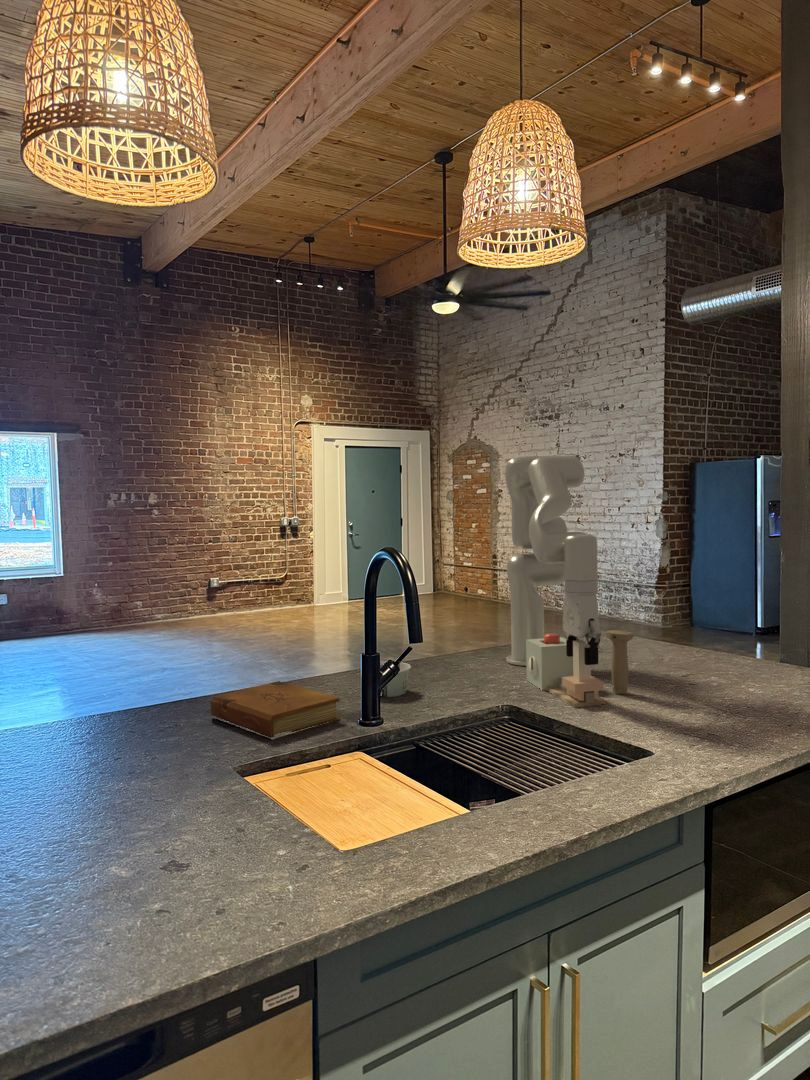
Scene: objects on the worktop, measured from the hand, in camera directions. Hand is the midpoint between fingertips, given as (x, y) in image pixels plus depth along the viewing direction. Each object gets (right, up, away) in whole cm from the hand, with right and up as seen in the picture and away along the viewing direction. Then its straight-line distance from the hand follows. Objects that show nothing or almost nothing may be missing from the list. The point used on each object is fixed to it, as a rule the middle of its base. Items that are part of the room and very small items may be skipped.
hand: (582, 660), depth 176 cm
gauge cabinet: (-4, -9, +17) cm, 20 cm away
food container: (-46, -11, +14) cm, 49 cm away
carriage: (0, -9, +1) cm, 9 cm away
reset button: (-4, +1, +17) cm, 17 cm away
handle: (+11, -9, +7) cm, 16 cm away
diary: (-71, -13, -7) cm, 72 cm away
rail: (-1, -10, +4) cm, 11 cm away
